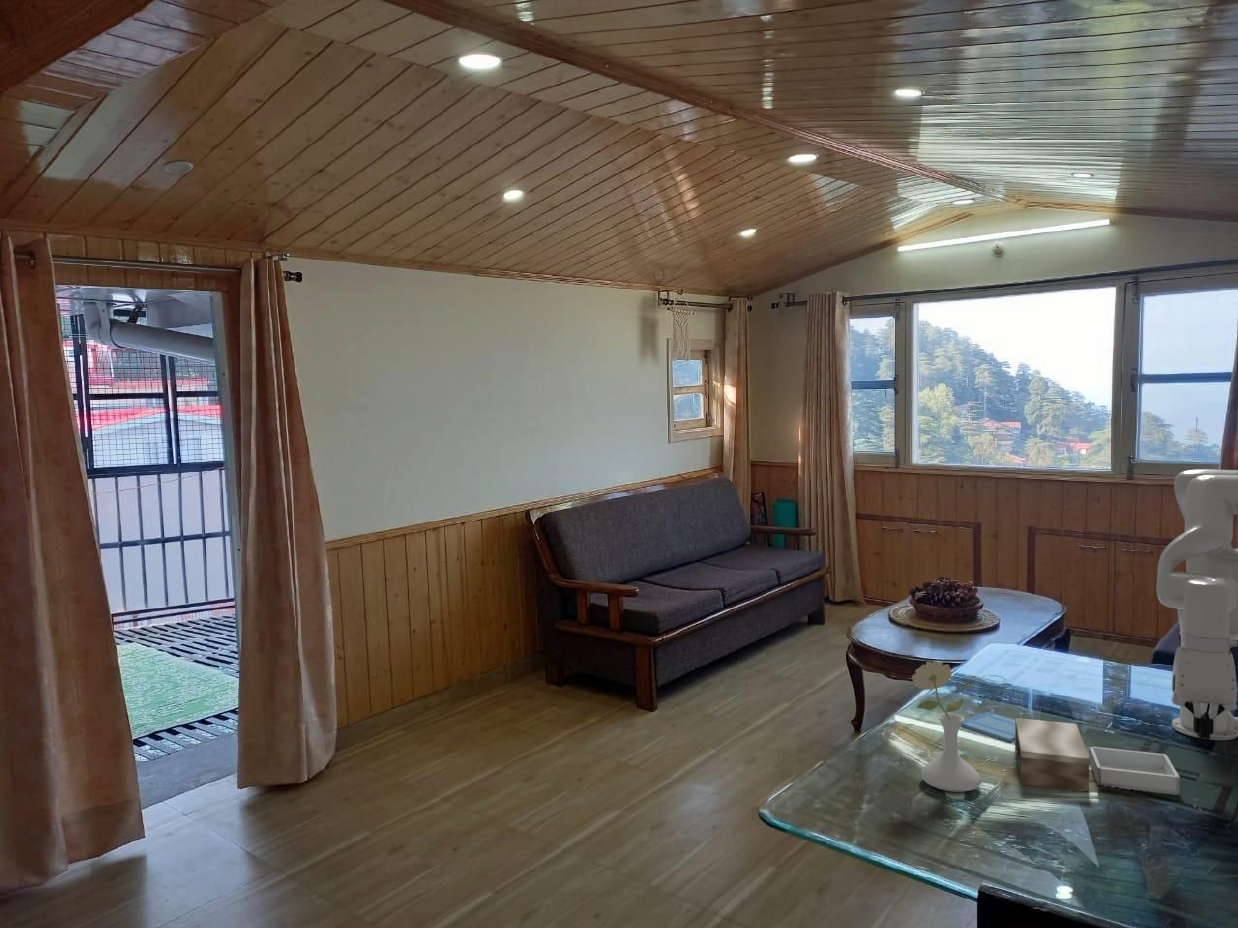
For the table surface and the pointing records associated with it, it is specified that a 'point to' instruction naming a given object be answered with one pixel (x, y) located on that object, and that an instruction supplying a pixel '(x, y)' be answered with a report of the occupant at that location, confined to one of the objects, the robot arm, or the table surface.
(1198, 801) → the table surface
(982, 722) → the blue flat rectangular slab
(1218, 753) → the table surface
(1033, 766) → the tan slab
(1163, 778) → the white open tray
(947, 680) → the flower in vase
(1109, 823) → the table surface
